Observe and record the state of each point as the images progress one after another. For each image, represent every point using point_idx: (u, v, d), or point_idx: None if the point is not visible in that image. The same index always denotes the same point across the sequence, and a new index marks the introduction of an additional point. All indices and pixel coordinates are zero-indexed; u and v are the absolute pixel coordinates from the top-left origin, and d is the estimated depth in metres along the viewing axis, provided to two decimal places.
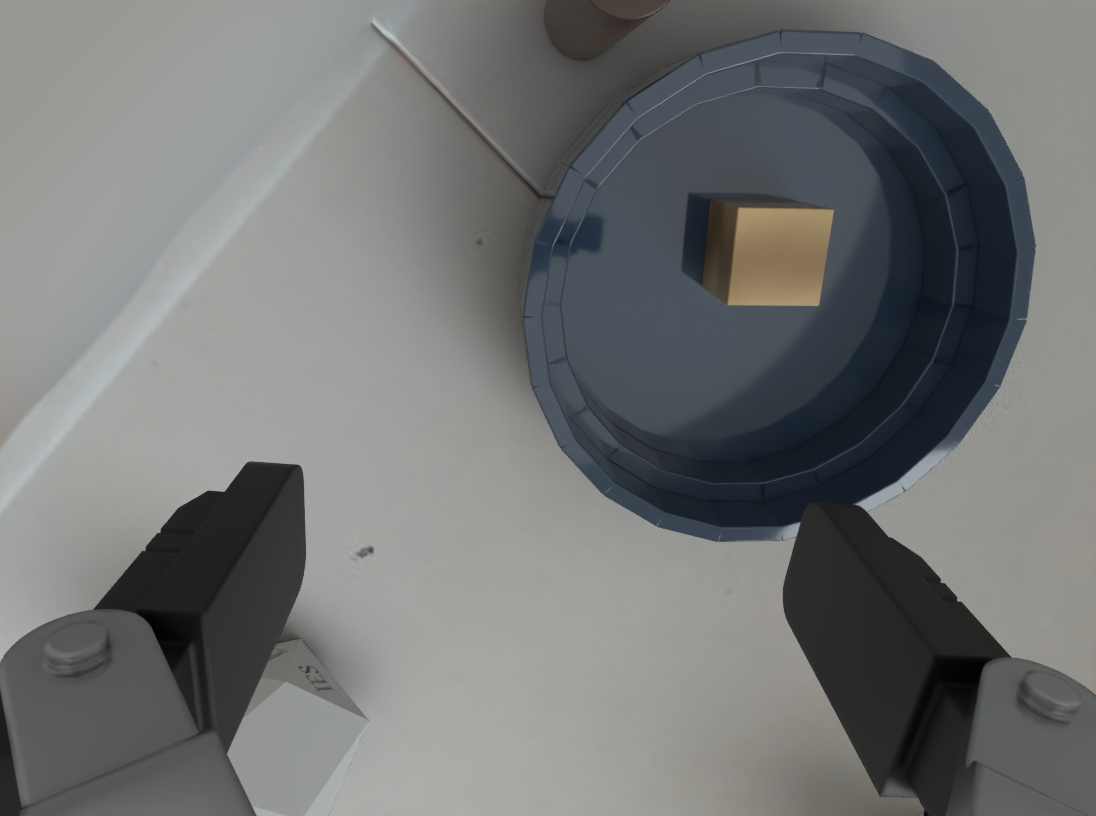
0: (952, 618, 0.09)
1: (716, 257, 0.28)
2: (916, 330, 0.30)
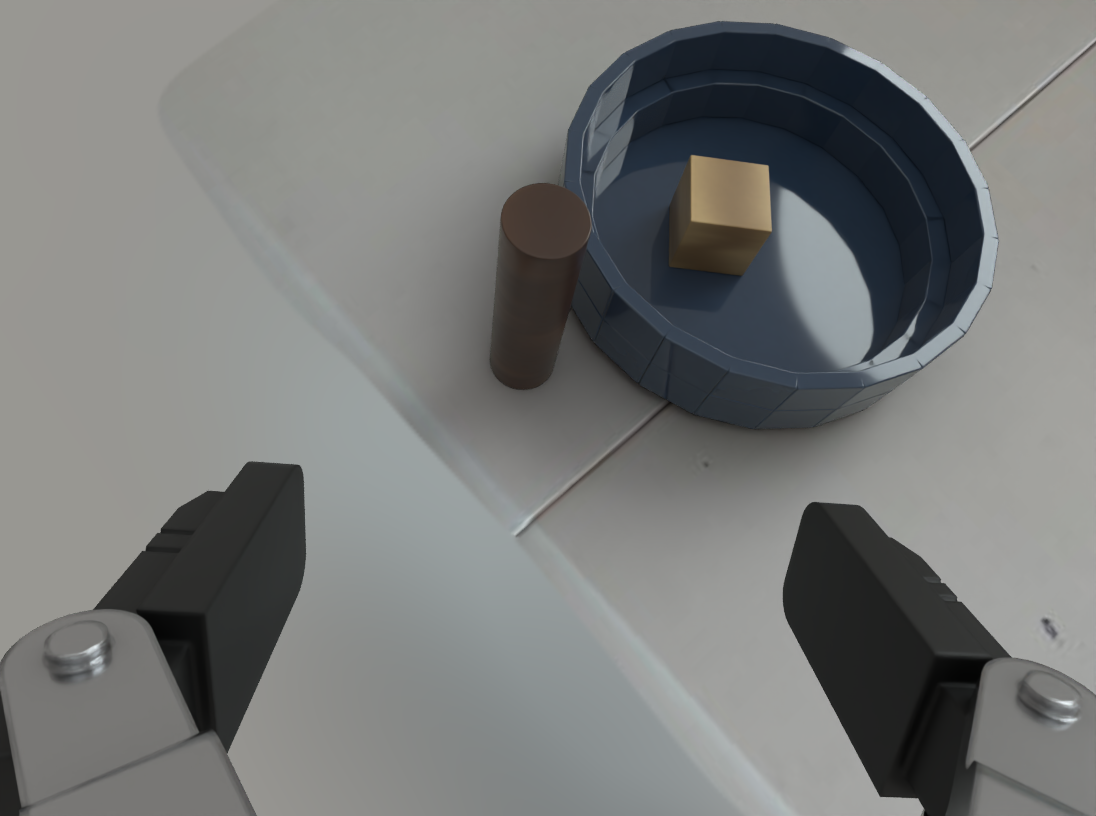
0: (952, 618, 0.09)
1: (723, 253, 0.32)
2: (773, 117, 0.36)
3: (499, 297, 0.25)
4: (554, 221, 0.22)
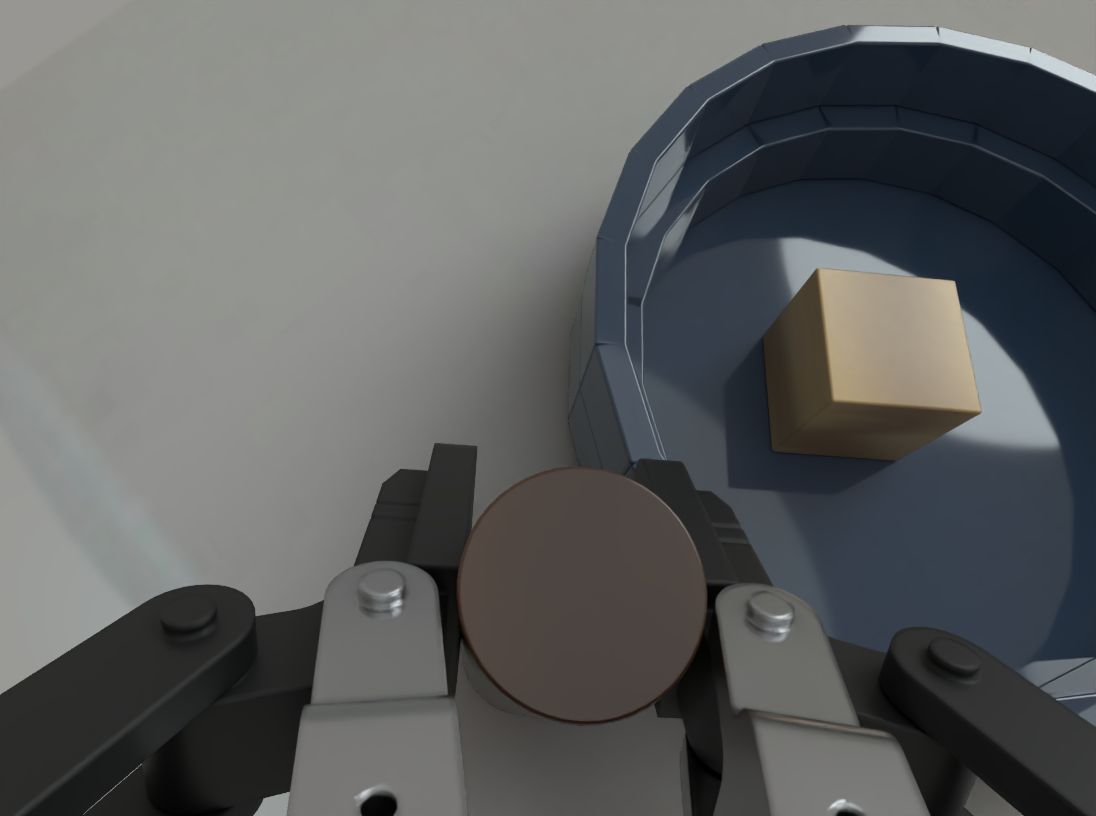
0: (718, 552, 0.09)
1: (877, 437, 0.18)
2: (915, 177, 0.23)
3: (469, 665, 0.11)
4: (605, 590, 0.08)
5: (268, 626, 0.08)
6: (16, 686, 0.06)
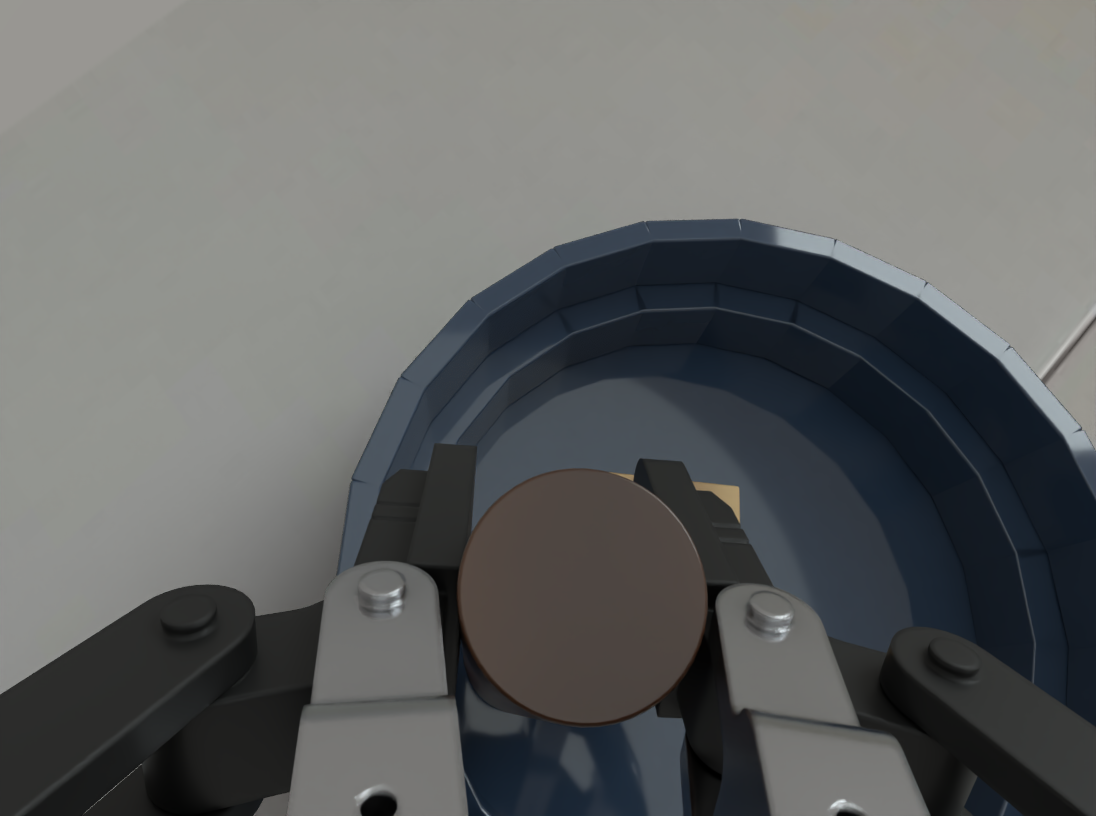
0: (719, 552, 0.09)
1: None
2: (745, 345, 0.22)
3: (469, 666, 0.11)
4: (606, 592, 0.08)
5: (269, 626, 0.08)
6: (16, 686, 0.06)
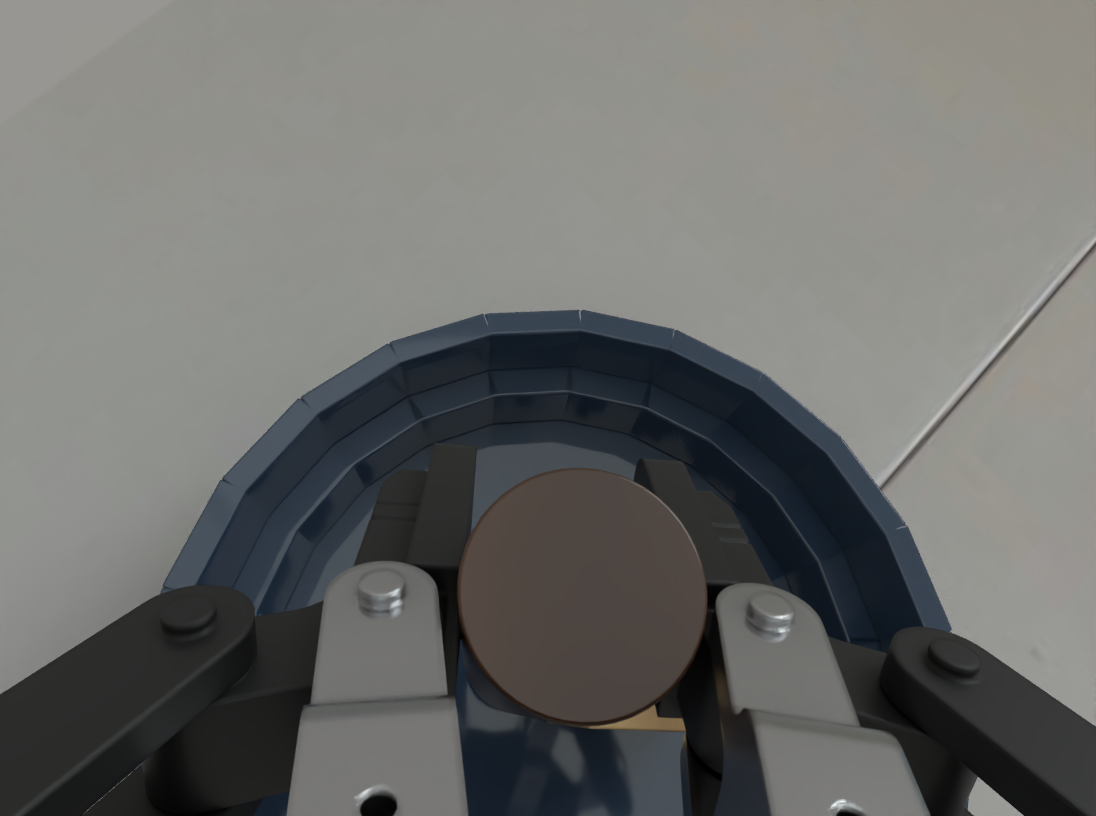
0: (719, 552, 0.09)
1: None
2: (607, 423, 0.23)
3: (469, 666, 0.11)
4: (606, 592, 0.08)
5: (268, 626, 0.08)
6: (16, 686, 0.06)
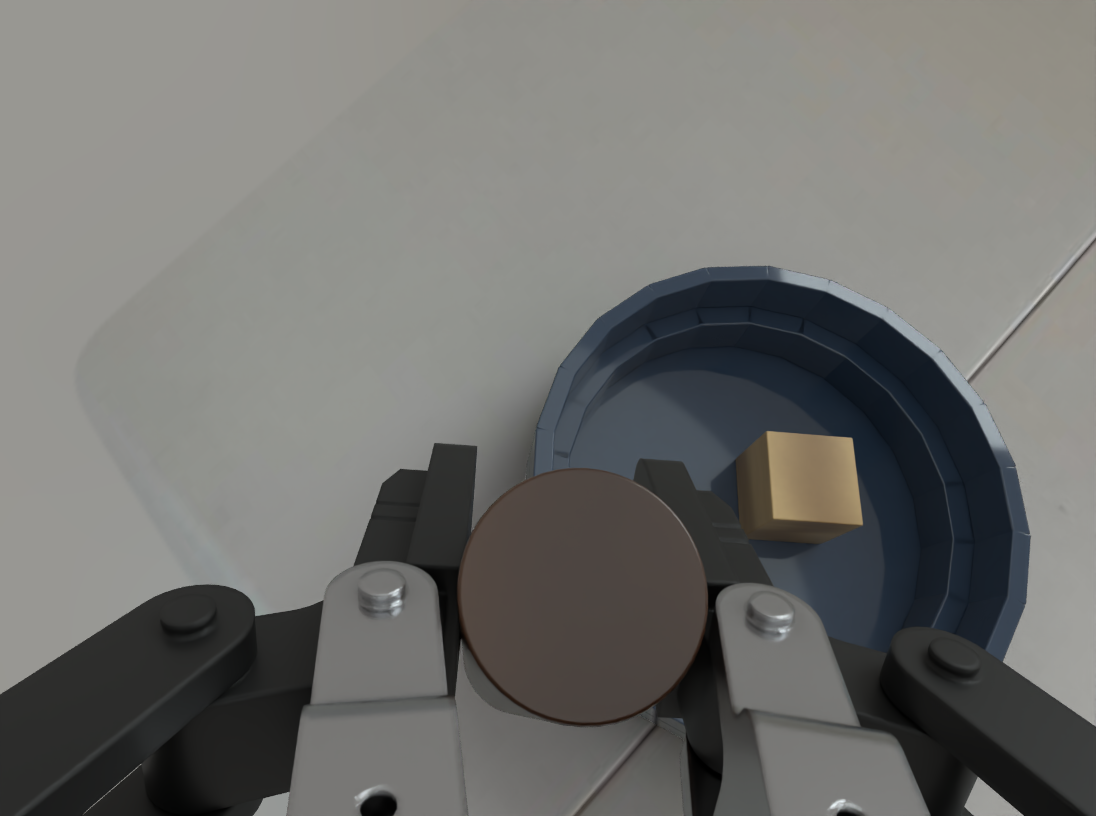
0: (719, 552, 0.09)
1: (804, 533, 0.28)
2: (767, 348, 0.33)
3: (469, 666, 0.11)
4: (606, 592, 0.08)
5: (267, 626, 0.08)
6: (16, 686, 0.06)
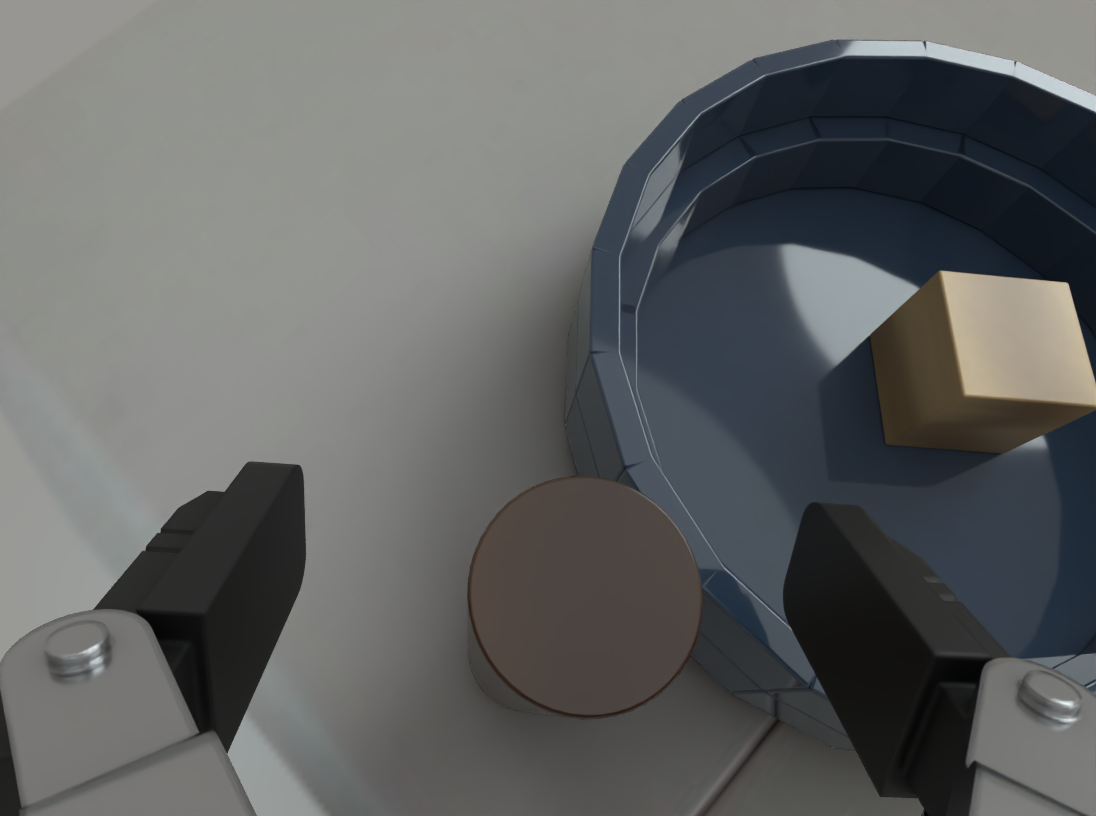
0: (952, 618, 0.09)
1: (993, 431, 0.19)
2: (904, 186, 0.23)
3: (476, 663, 0.12)
4: (606, 593, 0.08)
5: None
6: None
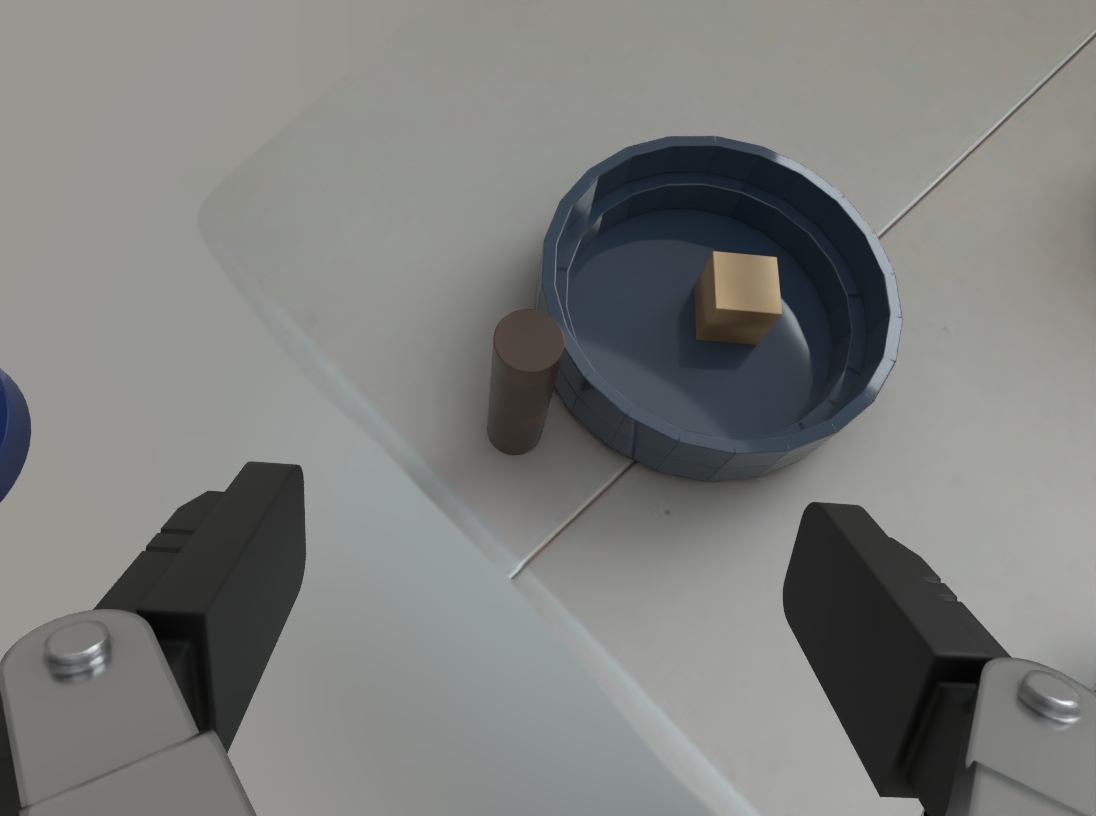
0: (952, 618, 0.09)
1: (742, 329, 0.38)
2: (719, 208, 0.43)
3: (494, 391, 0.31)
4: (535, 341, 0.28)
5: None
6: None
